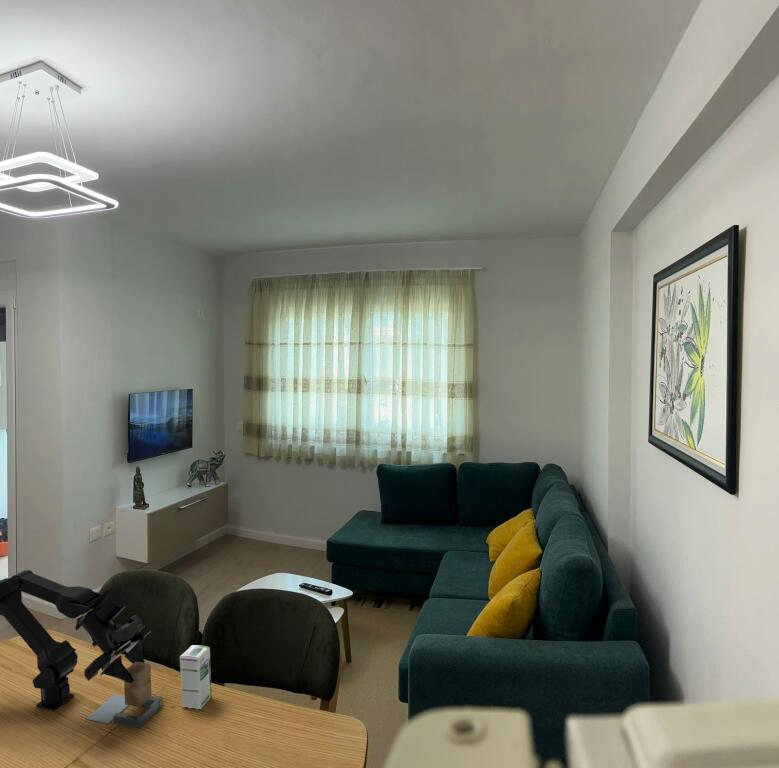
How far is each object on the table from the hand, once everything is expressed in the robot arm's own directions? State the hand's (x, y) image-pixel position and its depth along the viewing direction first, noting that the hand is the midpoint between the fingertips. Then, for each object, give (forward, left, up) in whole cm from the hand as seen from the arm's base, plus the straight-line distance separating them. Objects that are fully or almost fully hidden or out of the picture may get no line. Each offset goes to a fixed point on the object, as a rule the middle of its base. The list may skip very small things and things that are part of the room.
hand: (138, 676), depth 141 cm
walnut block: (0, 0, -7) cm, 7 cm away
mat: (-9, 0, -10) cm, 14 cm away
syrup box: (+12, +8, -11) cm, 18 cm away
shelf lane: (0, 0, -10) cm, 10 cm away
